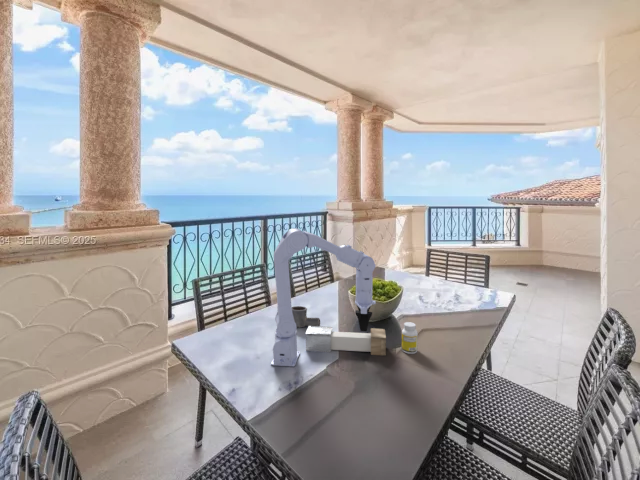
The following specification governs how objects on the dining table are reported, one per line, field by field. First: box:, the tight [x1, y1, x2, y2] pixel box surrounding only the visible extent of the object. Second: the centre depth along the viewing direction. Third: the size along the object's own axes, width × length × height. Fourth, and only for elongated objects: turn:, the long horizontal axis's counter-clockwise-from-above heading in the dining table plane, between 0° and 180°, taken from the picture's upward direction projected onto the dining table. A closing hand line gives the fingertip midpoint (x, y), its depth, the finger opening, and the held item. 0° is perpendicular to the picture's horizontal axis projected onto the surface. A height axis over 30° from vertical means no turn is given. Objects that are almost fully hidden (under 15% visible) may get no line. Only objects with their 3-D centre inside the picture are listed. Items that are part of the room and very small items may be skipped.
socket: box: [370, 327, 387, 357], centre depth 114 cm, size 7×5×6 cm
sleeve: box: [305, 326, 333, 353], centre depth 117 cm, size 7×9×6 cm
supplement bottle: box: [401, 321, 419, 355], centre depth 113 cm, size 5×5×10 cm
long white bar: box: [331, 331, 371, 353], centre depth 115 cm, size 4×17×5 cm, turn 82°
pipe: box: [291, 305, 321, 329], centre depth 135 cm, size 6×13×8 cm, turn 78°
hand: (363, 326), depth 114 cm, fingers open, 7 cm apart
